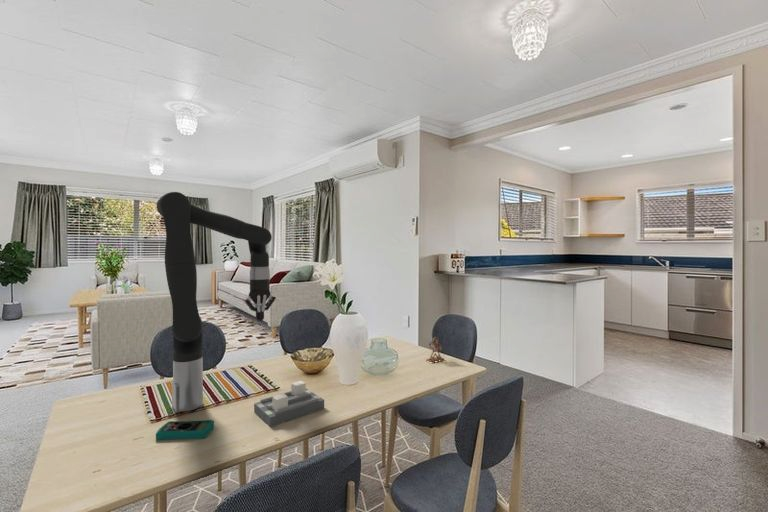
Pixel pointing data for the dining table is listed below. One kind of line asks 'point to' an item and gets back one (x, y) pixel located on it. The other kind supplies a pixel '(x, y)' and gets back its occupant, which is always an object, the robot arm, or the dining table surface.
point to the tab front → (279, 402)
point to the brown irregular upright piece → (435, 351)
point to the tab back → (298, 388)
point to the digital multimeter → (185, 430)
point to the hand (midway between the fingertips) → (259, 320)
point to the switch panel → (295, 407)
